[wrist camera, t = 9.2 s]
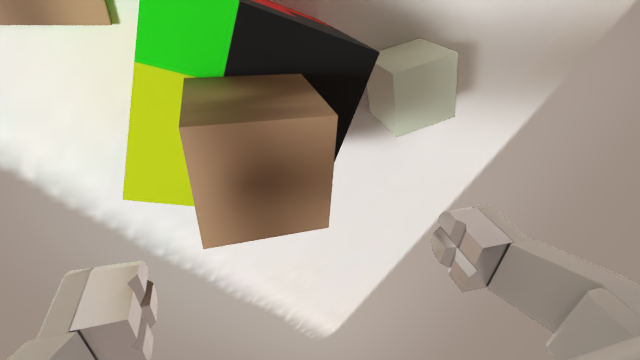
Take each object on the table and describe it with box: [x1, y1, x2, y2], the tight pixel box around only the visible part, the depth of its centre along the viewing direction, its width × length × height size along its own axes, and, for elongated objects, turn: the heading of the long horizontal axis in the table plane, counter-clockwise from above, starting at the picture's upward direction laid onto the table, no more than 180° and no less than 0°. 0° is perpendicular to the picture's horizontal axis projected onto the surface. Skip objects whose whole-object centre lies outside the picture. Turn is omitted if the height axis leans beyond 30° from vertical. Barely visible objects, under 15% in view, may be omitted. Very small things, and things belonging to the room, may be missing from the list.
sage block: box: [367, 38, 458, 137], centre depth 26 cm, size 5×5×5 cm
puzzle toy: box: [123, 0, 380, 206], centre depth 20 cm, size 10×10×10 cm
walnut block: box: [179, 74, 338, 249], centre depth 14 cm, size 5×5×5 cm
